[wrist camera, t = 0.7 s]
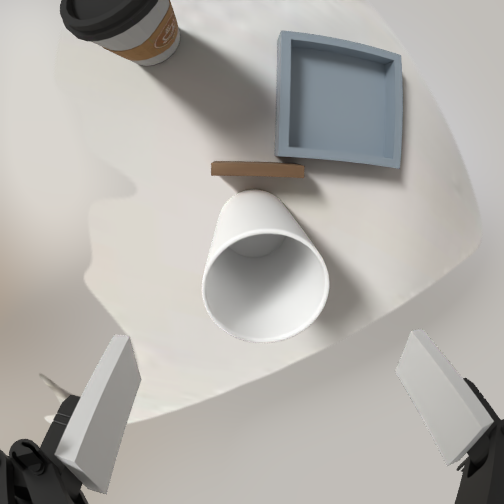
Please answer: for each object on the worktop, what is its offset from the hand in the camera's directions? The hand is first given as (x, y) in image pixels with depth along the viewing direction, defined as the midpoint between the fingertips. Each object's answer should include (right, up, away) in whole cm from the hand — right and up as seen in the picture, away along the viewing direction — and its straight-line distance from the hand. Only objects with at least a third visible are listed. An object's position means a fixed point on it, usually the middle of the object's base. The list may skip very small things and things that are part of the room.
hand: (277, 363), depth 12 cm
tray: (+9, +22, +16) cm, 28 cm away
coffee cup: (-12, +29, +13) cm, 34 cm away
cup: (-1, +8, +21) cm, 23 cm away
